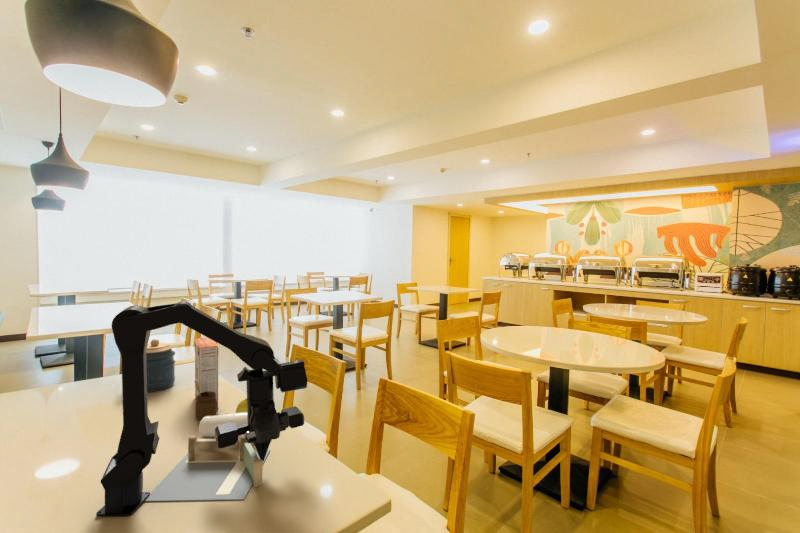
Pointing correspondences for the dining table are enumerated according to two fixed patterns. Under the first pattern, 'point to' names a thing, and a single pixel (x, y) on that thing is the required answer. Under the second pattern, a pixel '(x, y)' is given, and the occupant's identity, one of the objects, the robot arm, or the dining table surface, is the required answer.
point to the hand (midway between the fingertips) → (262, 460)
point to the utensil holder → (205, 403)
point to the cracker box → (206, 366)
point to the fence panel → (253, 464)
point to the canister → (159, 365)
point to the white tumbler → (220, 422)
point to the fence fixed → (214, 450)
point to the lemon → (242, 406)
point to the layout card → (205, 481)
